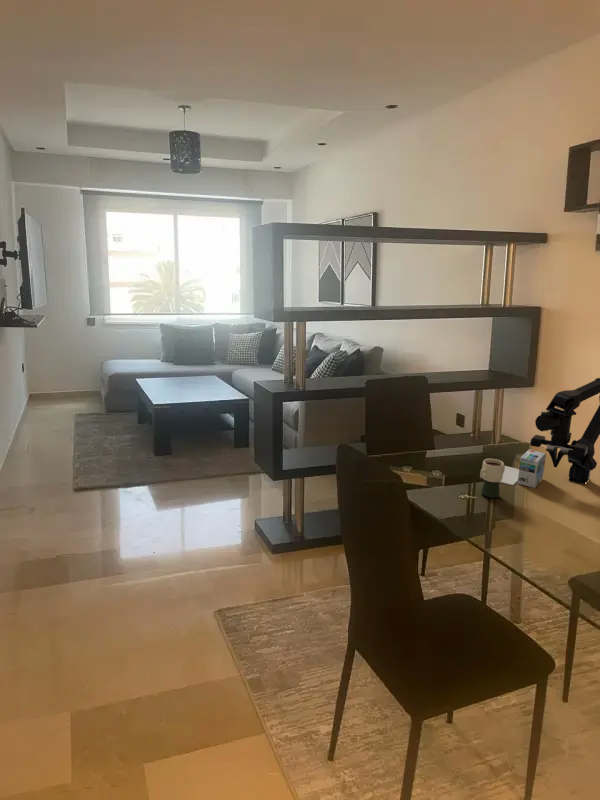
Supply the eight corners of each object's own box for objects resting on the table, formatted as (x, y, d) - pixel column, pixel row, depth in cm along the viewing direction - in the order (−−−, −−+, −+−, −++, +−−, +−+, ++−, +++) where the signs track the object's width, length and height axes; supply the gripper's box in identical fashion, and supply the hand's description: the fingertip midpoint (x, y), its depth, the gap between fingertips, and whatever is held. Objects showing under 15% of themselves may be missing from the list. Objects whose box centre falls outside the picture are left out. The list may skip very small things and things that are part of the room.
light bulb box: (534, 488, 221) (538, 461, 218) (516, 483, 225) (519, 457, 222) (543, 479, 229) (546, 452, 226) (525, 474, 233) (528, 448, 230)
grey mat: (525, 471, 236) (525, 470, 235) (513, 485, 223) (513, 484, 223) (495, 464, 242) (495, 463, 242) (481, 477, 230) (481, 476, 230)
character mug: (494, 488, 221) (497, 456, 217) (508, 496, 215) (512, 463, 211) (471, 494, 216) (474, 461, 212) (485, 502, 210) (489, 468, 206)
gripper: (593, 426, 217) (587, 465, 221) (540, 416, 227) (535, 454, 232) (587, 435, 208) (581, 476, 213) (532, 424, 218) (527, 463, 223)
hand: (555, 467), depth 220 cm, fingers closed
